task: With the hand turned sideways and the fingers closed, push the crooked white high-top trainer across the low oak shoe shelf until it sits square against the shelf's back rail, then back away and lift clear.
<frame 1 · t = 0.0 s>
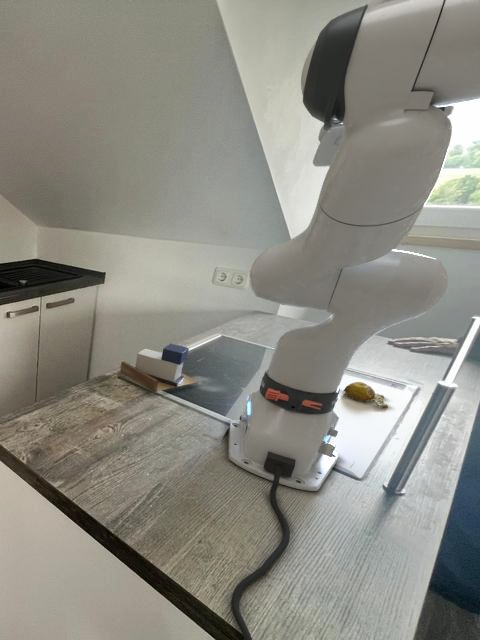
hand: (362, 189, 83), 48 cm above the counter, tool pointing down, fingers open, 8 cm apart
shoe shelf: (157, 380, 106), on the counter
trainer: (157, 376, 105), point 1 cm above the counter, touching shoe shelf
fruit: (367, 400, 96), on the counter
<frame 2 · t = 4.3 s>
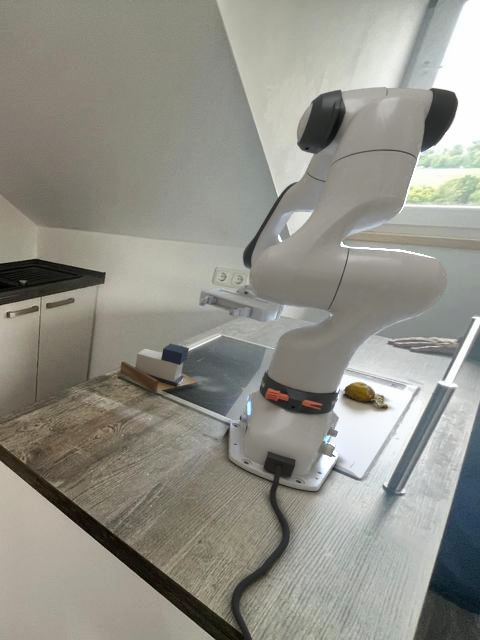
hand: (216, 307, 103), 19 cm above the counter, tool horizontal, fingers open, 8 cm apart
nothing on the counter moved.
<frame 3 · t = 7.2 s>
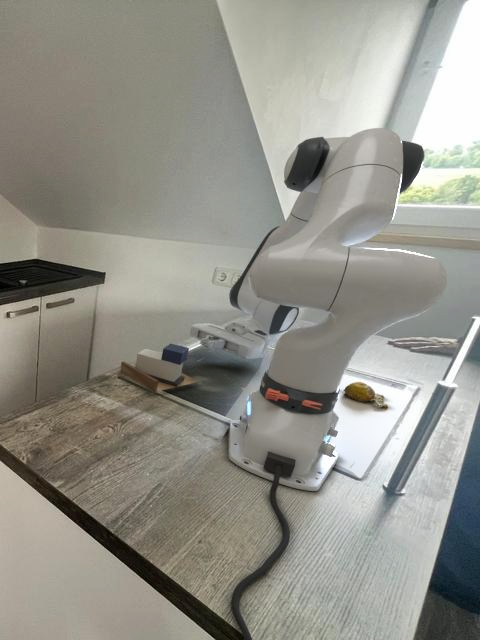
hand: (204, 343, 108), 9 cm above the counter, tool horizontal, fingers closed
nothing on the counter moved.
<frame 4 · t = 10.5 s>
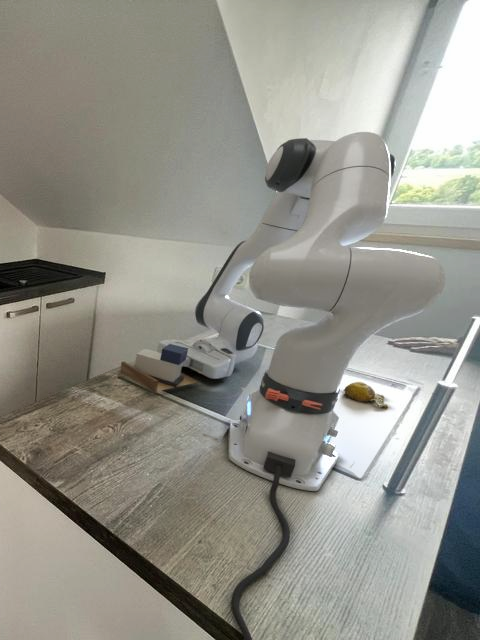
hand: (169, 361, 105), 5 cm above the counter, tool horizontal, fingers closed
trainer: (157, 376, 105), point 1 cm above the counter
everything else where it was.
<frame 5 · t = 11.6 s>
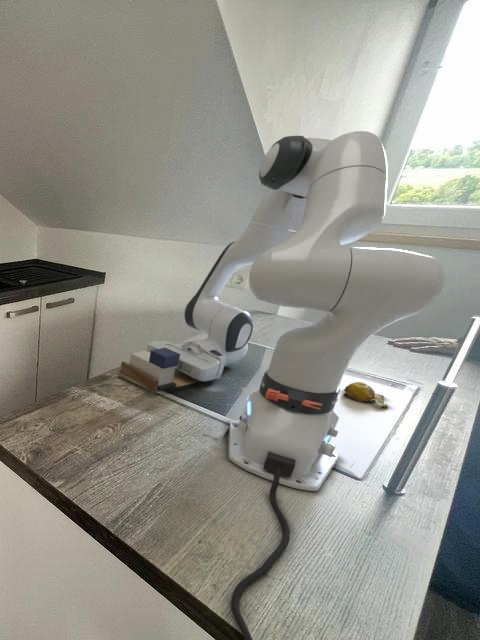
hand: (158, 363, 103), 5 cm above the counter, tool horizontal, fingers closed
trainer: (149, 379, 103), point 1 cm above the counter, touching shoe shelf
everything else where it was.
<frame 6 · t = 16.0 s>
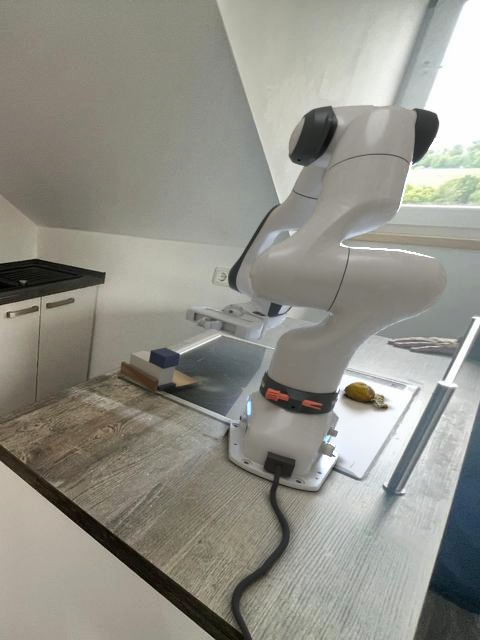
hand: (201, 324, 104), 15 cm above the counter, tool horizontal, fingers closed
nothing on the counter moved.
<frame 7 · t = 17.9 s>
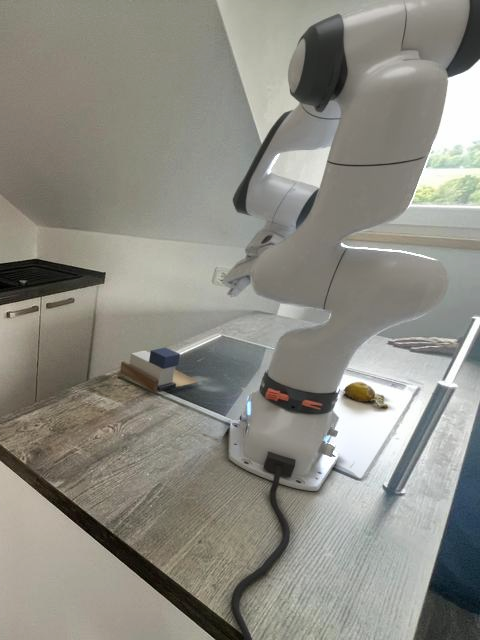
hand: (231, 295, 101), 23 cm above the counter, tool tilted 40°, fingers closed
nothing on the counter moved.
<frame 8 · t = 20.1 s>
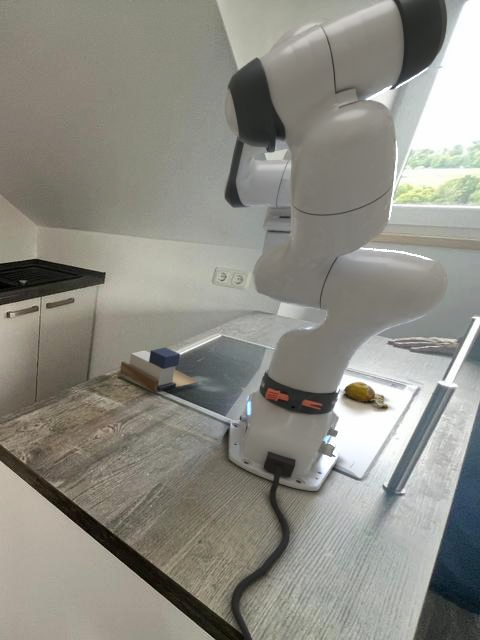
hand: (269, 278, 99), 27 cm above the counter, tool pointing down, fingers closed
nothing on the counter moved.
at the end: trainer 0.8 cm from the target spot on the shoe shelf, point 1.2 cm above the shoe shelf's base; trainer tilted 0°; the gripper is holding nothing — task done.
